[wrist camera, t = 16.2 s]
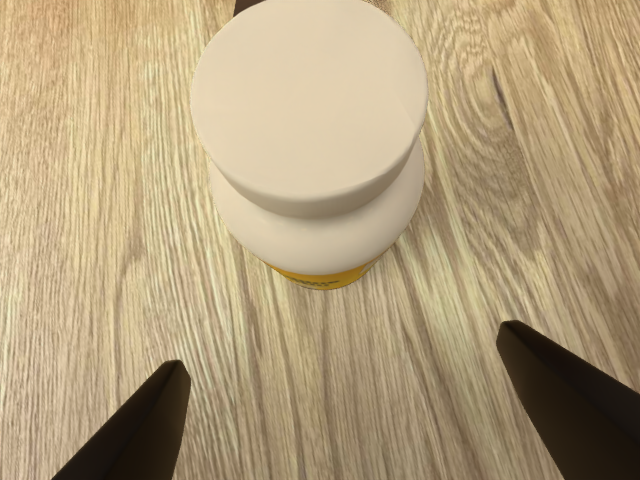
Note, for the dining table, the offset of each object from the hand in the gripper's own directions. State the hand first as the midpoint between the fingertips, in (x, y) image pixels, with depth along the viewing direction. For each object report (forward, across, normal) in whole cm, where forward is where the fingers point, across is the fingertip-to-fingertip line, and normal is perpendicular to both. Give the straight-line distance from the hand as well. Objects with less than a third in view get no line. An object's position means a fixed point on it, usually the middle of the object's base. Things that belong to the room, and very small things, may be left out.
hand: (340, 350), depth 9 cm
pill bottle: (+9, 0, +2) cm, 9 cm away
